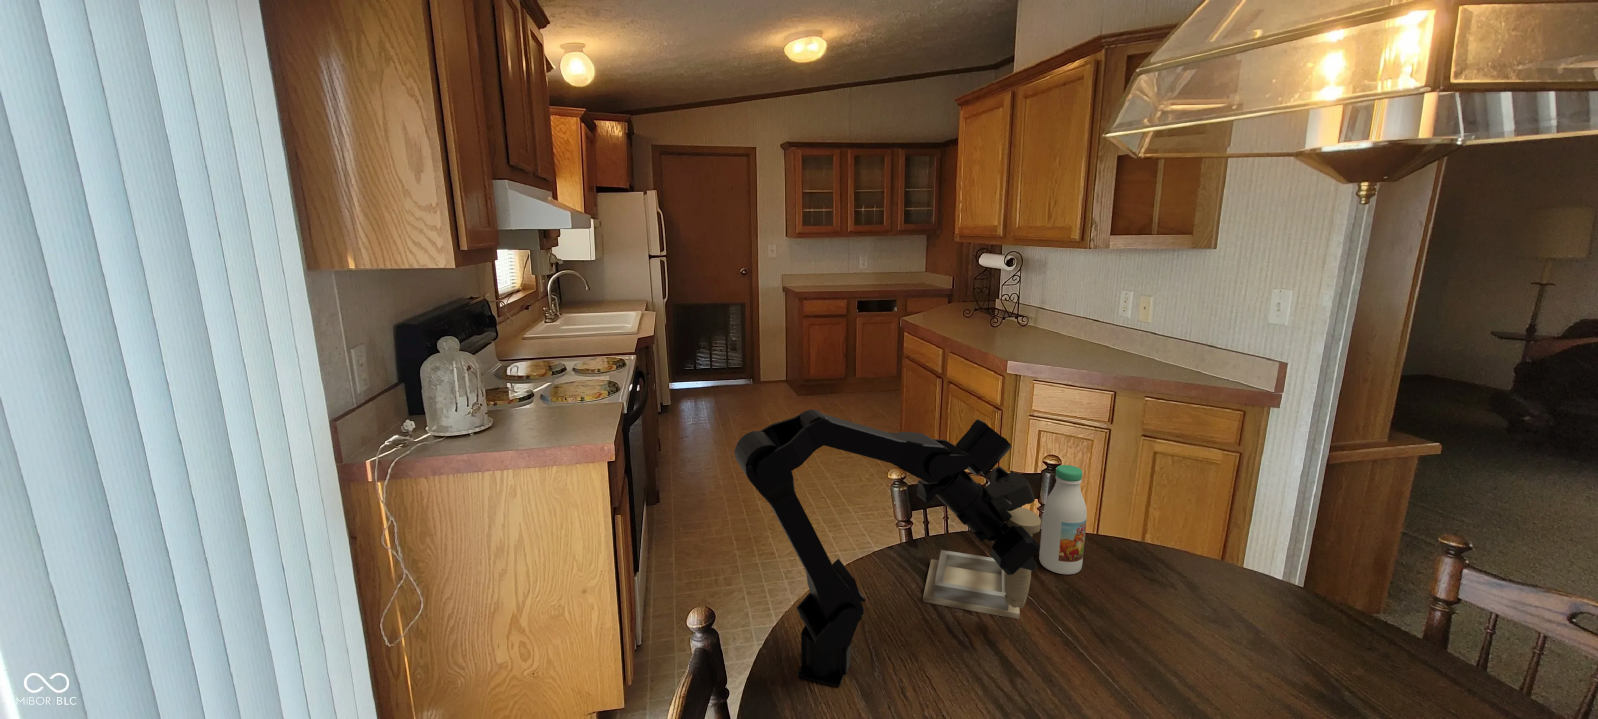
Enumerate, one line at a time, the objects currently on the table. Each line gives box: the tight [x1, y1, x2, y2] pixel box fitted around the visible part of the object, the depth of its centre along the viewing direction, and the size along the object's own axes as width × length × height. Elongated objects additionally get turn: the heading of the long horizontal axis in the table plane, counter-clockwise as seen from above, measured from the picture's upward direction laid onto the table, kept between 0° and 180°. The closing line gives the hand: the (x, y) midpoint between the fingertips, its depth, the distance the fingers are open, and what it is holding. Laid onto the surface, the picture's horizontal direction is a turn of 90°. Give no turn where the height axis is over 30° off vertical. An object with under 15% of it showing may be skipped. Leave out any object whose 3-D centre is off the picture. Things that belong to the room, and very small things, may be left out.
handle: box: [1004, 506, 1042, 609], centre depth 96 cm, size 5×6×15 cm
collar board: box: [922, 549, 1021, 620], centre depth 111 cm, size 16×13×4 cm
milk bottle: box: [1038, 464, 1088, 575], centre depth 117 cm, size 8×8×20 cm
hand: (1027, 559), depth 96 cm, fingers closed on handle, 5 cm apart
